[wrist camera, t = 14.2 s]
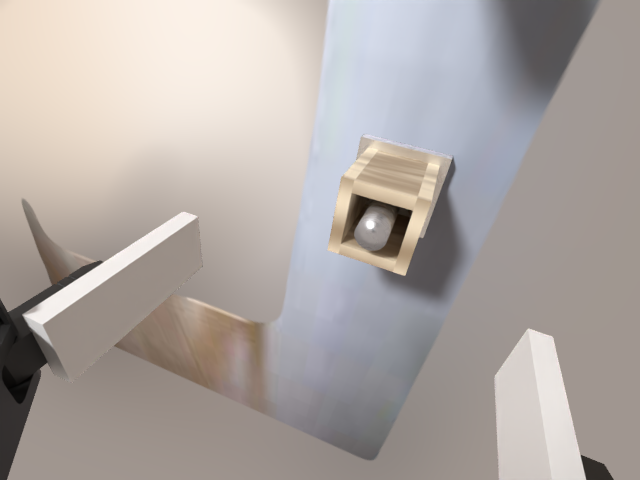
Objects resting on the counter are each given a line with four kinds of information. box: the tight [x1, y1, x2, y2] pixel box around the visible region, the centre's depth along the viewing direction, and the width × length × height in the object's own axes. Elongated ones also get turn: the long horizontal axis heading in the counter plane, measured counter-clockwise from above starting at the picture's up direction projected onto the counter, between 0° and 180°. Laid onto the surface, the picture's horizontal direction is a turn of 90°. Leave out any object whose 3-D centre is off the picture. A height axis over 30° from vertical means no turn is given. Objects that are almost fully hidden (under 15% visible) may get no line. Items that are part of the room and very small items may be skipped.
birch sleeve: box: [328, 148, 439, 276], centre depth 36 cm, size 8×8×10 cm
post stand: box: [354, 134, 453, 251], centre depth 36 cm, size 10×10×13 cm
